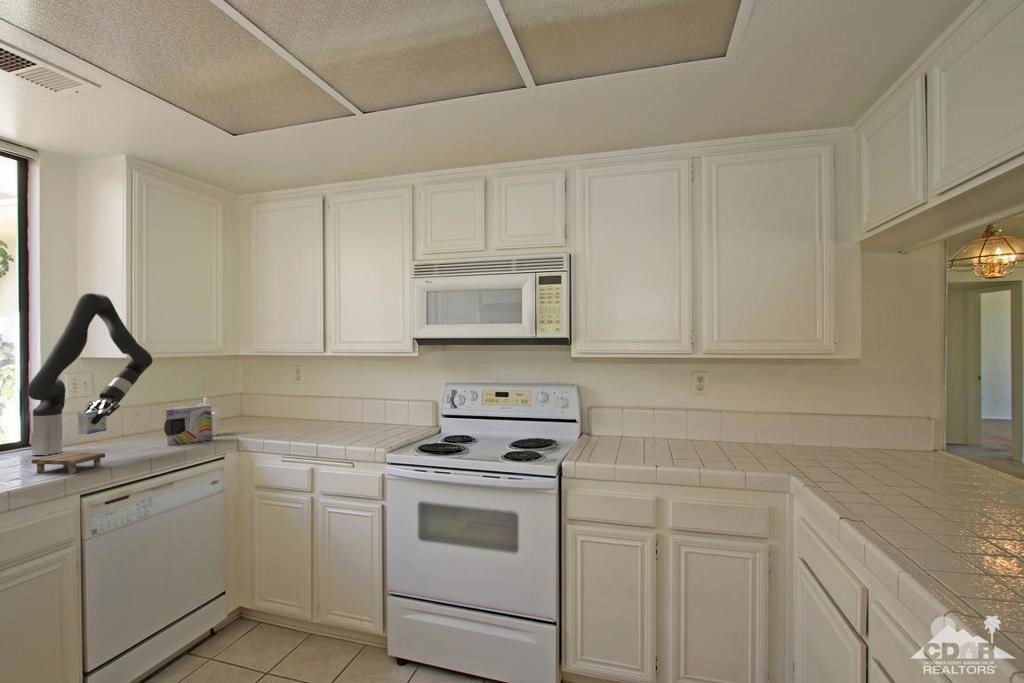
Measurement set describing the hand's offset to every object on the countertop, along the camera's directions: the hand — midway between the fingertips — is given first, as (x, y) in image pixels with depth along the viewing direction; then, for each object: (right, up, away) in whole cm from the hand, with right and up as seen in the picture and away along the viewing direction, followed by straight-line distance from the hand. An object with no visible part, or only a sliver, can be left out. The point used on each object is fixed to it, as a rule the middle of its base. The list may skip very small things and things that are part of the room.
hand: (87, 423), depth 192 cm
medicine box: (0, -4, +2) cm, 5 cm away
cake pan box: (+17, -16, +36) cm, 43 cm away
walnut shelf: (+3, -16, -11) cm, 20 cm away
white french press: (+14, -16, +54) cm, 58 cm away
